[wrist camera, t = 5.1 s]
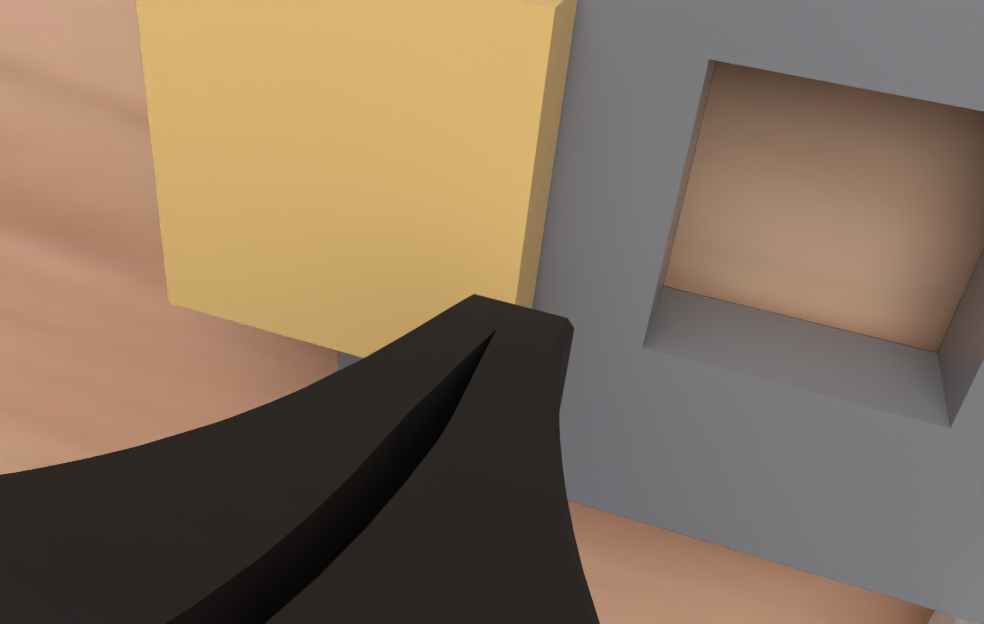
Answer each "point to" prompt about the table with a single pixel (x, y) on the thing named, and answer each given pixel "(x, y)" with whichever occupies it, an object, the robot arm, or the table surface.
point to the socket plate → (756, 313)
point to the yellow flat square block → (352, 157)
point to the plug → (947, 619)
